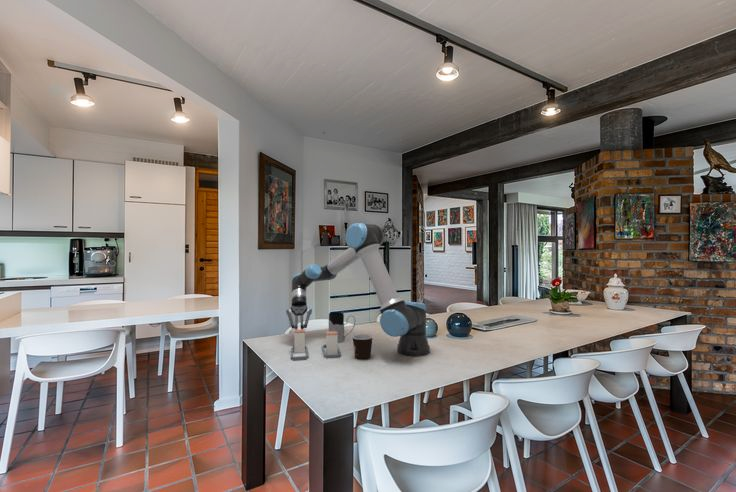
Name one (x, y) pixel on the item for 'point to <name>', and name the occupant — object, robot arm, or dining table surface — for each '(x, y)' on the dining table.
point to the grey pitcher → (338, 325)
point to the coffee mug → (362, 346)
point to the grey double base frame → (308, 355)
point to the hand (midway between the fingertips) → (299, 340)
